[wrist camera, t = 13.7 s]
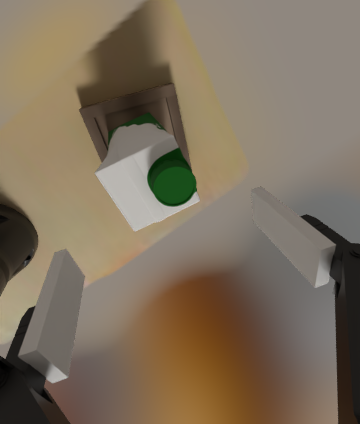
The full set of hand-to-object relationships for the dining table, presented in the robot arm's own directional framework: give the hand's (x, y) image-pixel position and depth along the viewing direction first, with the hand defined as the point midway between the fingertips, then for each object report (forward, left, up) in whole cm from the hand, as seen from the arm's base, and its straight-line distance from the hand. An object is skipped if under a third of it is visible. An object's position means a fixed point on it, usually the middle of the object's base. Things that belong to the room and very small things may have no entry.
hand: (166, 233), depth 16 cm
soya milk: (0, 0, -26) cm, 26 cm away
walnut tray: (0, 0, -27) cm, 27 cm away
